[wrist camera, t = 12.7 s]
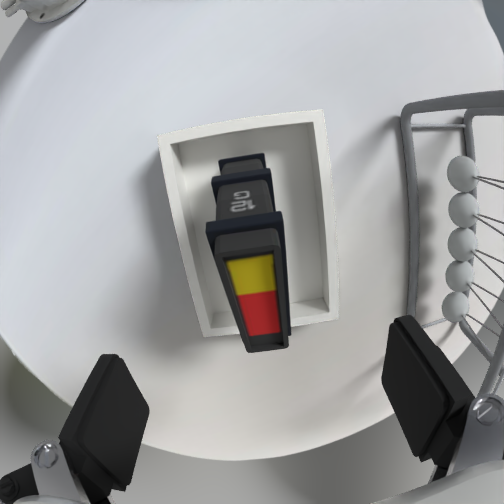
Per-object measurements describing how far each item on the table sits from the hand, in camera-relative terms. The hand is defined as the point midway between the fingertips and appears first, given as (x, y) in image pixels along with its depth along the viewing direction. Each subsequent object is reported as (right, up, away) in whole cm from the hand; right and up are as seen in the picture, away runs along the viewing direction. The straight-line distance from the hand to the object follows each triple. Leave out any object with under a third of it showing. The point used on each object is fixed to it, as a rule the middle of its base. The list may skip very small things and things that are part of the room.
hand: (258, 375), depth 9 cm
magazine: (0, +7, +19) cm, 21 cm away
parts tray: (0, +7, +20) cm, 21 cm away
